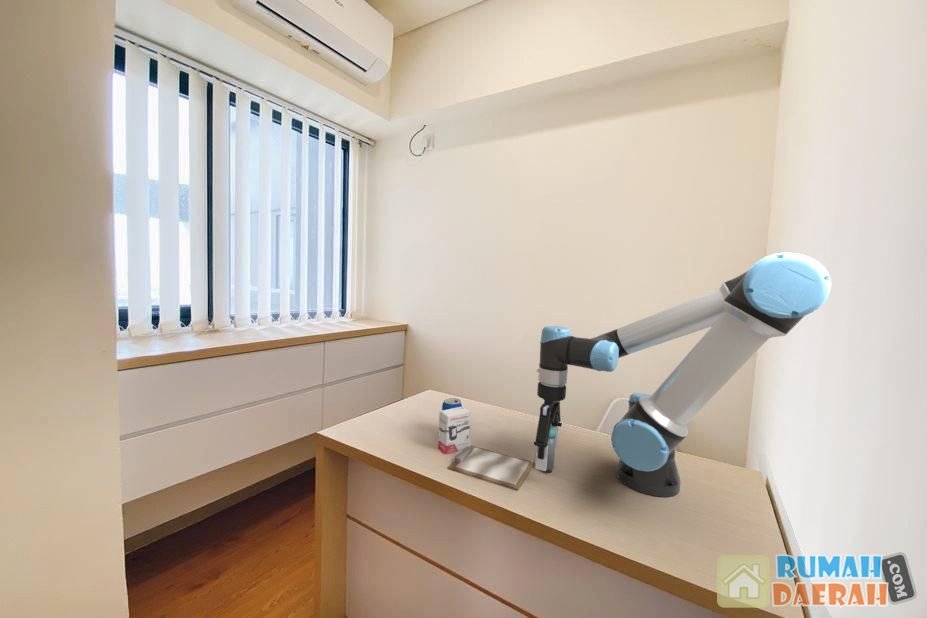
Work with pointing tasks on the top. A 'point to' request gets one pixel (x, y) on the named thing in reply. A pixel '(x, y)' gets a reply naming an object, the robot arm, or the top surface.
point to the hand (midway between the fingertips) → (546, 458)
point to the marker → (551, 450)
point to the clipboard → (492, 466)
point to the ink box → (454, 429)
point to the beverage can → (451, 403)
